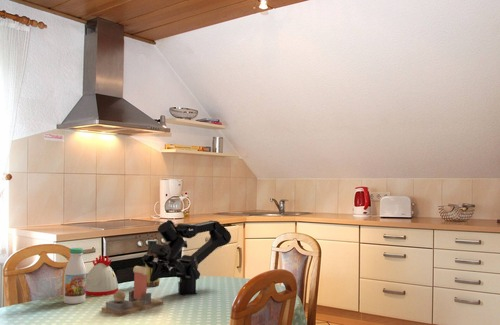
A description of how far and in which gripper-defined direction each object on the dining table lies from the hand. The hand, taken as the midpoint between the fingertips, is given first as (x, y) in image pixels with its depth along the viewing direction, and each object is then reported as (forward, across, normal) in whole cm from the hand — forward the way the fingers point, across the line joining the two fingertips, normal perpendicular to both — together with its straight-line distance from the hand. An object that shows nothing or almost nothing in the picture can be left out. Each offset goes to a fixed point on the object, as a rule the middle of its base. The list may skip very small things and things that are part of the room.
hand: (150, 281), depth 176 cm
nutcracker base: (+12, 0, 0) cm, 12 cm away
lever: (+7, 0, 0) cm, 7 cm away
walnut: (+14, 0, -7) cm, 16 cm away
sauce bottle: (-9, -22, +21) cm, 31 cm away
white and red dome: (+6, -28, +5) cm, 30 cm away
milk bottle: (+18, -23, -6) cm, 30 cm away
